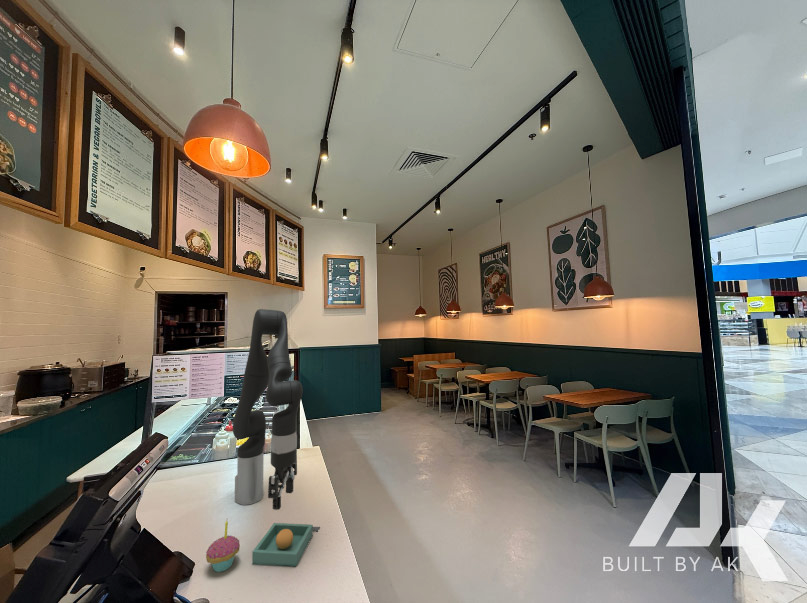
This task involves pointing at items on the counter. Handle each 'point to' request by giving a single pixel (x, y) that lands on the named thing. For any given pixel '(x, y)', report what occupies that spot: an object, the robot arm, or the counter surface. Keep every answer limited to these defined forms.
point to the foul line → (316, 529)
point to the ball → (284, 538)
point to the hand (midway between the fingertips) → (283, 500)
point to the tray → (286, 557)
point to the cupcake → (223, 551)
